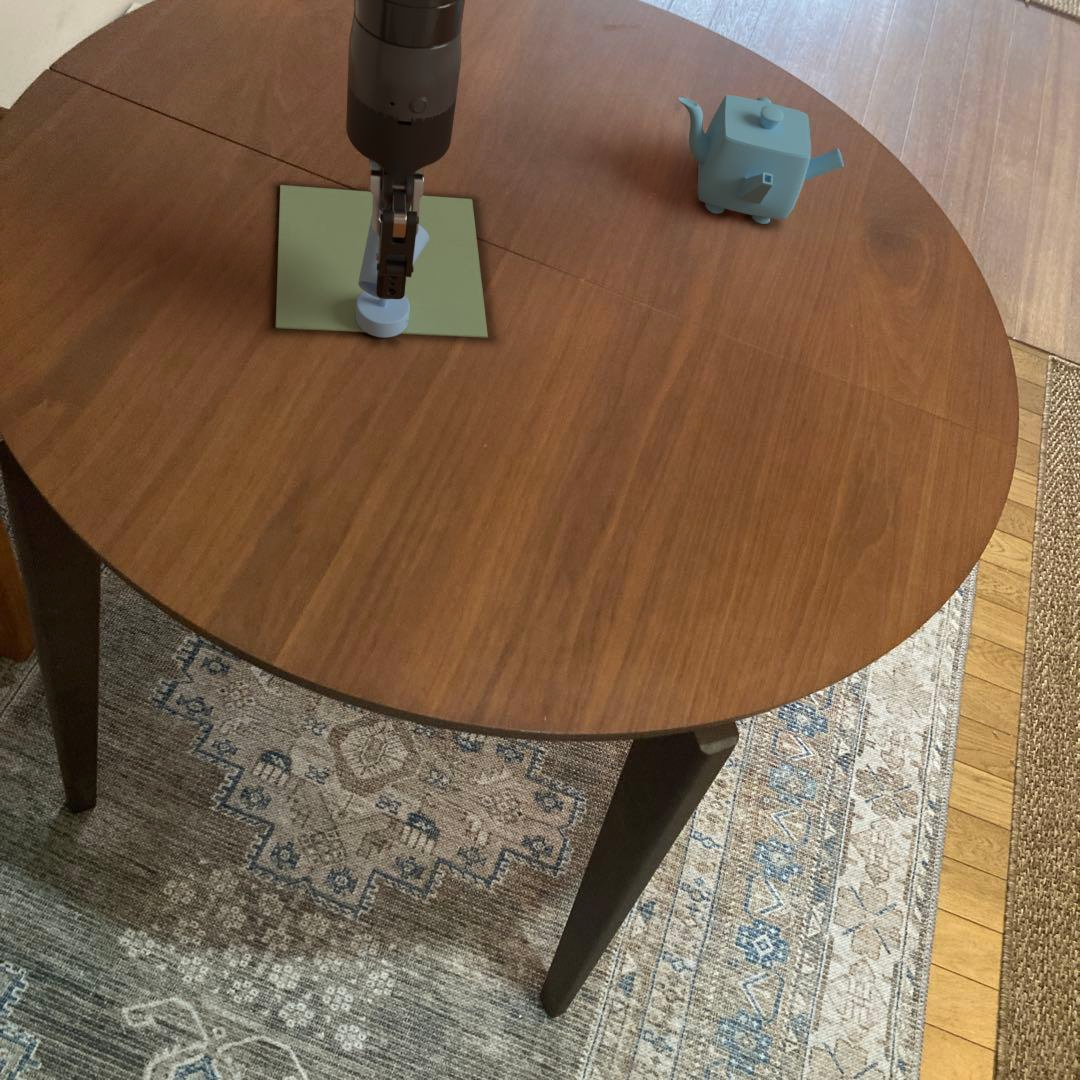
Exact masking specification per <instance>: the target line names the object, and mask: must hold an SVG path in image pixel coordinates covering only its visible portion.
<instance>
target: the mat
mask: <svg viewBox="0 0 1080 1080" xmlns="http://www.w3.org/2000/svg"><path fill="white" fill-rule="evenodd" d="M372 200H373V194H372V193H371V191H366V190H354V189H339V188H326V187H313V186H312V187H311V186H300V185H299V186H298V185H285V184H280V185H279V211H278V212H279V215H278V242H277V243H278V246H277V272H276V273H277V274H276V275H277V276H276V307H275V329H283V330H284V329H285V330H286V329H287V330H306V331H307V330H308V331H313V330H314V331H329V332H350V333H351V332H352V333H366V332H365V331H363V330H362V329H361V328H360V327H359V325H358V324H357V321H356V303H357V298H358V296H359V295H360V293H361V292H362V291H364V290H363V289H361V288H360V286H359V285H358V282H359V277H360V272H361V267H362V262H363V257H364V252H365V247H366V242H367V237H368V232H369V227H370V222H371V217H372ZM409 211H411V207H410V210H409ZM419 225H420V226H421V227H423V228H424V229H425V231H426V232H427V233H428V236H429V241H428V242H427V244H426V245H425V247H424V249H423V250H422V252H421V253H420V255H419V256H418V258H417V259H416V261H415V263H414V264H413V266H414V270H413V273H412V275H411V277H406V285H405V296H406V298H407V299H408V301H409V305H410V310H409V320H408V325H407V327H406V329H405V330H404V331H403V332H402V333H400V334H399V335H414V336H415V335H416V336H417V335H419V336H440V337H459V338H462V337H463V338H481V339H482V338H484V339H487V338H489V336H488V326H487V317H486V309H485V302H484V301H485V300H484V291H483V283H482V274H481V265H480V258H479V257H480V256H479V249H478V248H479V247H478V239H477V230H476V229H477V228H476V221H475V214H474V204H473V198H461V197H449V196H434V195H433V196H432V195H423V196H422V197H421V198H420V205H419Z"/></svg>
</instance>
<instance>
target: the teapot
mask: <svg viewBox="0 0 1080 1080" xmlns="http://www.w3.org/2000/svg"><path fill="white" fill-rule="evenodd" d="M678 101H679V102H680V104H681V105H683V107H684V108H685V109H686V110H687V112H688V114H689V122H690V124H689V133H688V146H689V150H690V153H691V155H692V157H693V158H694V160H695V161H696V162H698V169H697V197H698V200H699V201H700V202H702V203H705V208H706V209H707V211H709V212H711V213H713V214H722V213H724V212H725V210H728V211H732V212H737V213H741V214H745V215H750V216H751V218H752V219H753V220H754V221H755V222H756V223H758V224H761V225H765V224H769V223H770V221H771V219H773V220H782V221H783V220H786V219H787V218H788V216H789V215H790V214H791V213H792V212H793V210H794V208H795V206H796V203H797V201H798V199H799V196H800V194H801V191H802V188H803V185H804V182H807V181H809V180H811V179H814V178H817V177H820V176H823V175H825V174H828V173H831V172H833V171H836V170H838V169H841V168H843V167H844V165H845V164H844V160H843V156H842V154H841V151H840V149H839V148H836V149H833V150H831V151H828V152H825V153H822V154H820V155H817V156H815V157H812V158H811V156H812V143H811V142H812V140H811V129H810V119H809V115H808V114H807V113H806V112H804V111H801V110H798V109H794V108H791V107H787V106H783V105H779V104H775V103H773V102H772V100H770V99H769V98H768V97H764V96H760V97H757V98H756V99H754V98H749V97H746V96H745V97H744V96H738V95H731V94H727V95H725V96H724V97H723V98H722V101H721V102H720V104H719V106H718V107H717V108H716V111H715V113H714V114H713V116H712V118H711V121H710V123H709V124H708V126H707V129H706V132H705V130H704V128H703V125H704V123H703V122H704V114H703V113H704V112H703V110H702V107H701V106H700V104H699V103H697V102H696V101H694V100H692V99H690V98H686V97H683V96H682V97H678Z"/></svg>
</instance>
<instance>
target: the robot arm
mask: <svg viewBox="0 0 1080 1080" xmlns="http://www.w3.org/2000/svg"><path fill="white" fill-rule="evenodd" d="M465 3H466V0H354V1H353V16H352V22H351V26H350V33H349V39H348V40H349V42H348V56H347V58H348V60H347V86H346V87H347V90H346V94H347V95H346V117H345V119H346V121H345V129H346V134H347V138H348V139H349V142H350V143H351V145H352V146H353V148H354V149H355V150H356V151H357V152H358V153H359V154H360V155H362V156H363V157H365V158H366V159H367V160H368V168H369V190H370V191H369V192H371V193H372V194H373V200H372V228H373V231H374V232H375V233H376V234H377V235H378V253H376V260H377V262H378V263H377V270H378V271H377V285H376V292H377V296H378V297H379V298H383V299H402V298H403V297H404V295H405V285H406V277H411V275H412V273H413V270H414V266H413V257H414V248H415V239H416V235H417V233H418V226H419V205H420V198H421V197H422V196H424V191H425V190H424V188H425V172H421V170H422V169H424V168H425V167H428V166H431V165H433V164H435V163H436V162H438V161H440V160H441V159H442V158H443V157H444V156H446V154H447V152H448V151H449V150H450V149H449V148H450V146H451V143H452V135H453V128H454V121H455V113H456V112H455V111H456V106H457V105H456V104H457V97H458V90H459V89H458V88H459V81H460V74H461V73H460V72H461V64H462V26H463V19H464V11H465ZM410 207H411V211H409V210H410ZM380 210H381V212H382V214H380Z"/></svg>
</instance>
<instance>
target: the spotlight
mask: <svg viewBox="0 0 1080 1080" xmlns="http://www.w3.org/2000/svg"><path fill="white" fill-rule="evenodd" d="M380 214H382V212H381V210H380ZM428 241H429V236H428V233H427V232H426V231H425V229H424V228H423V227H421V226H420V225H419V226H418V233H417V235H416V239H415V248H414V257H413V264H414V263H415V261H416V259H417V258H418V256H419V255H420V253H421V252H422V250H423V249H424V247H425V245H426V244H427V242H428ZM376 253H378V235H377V234H376V233H375V232H374V231H373V228H372V217H371V222H370V227H369V232H368V237H367V242H366V247H365V252H364V257H363V262H362V267H361V272H360V277H359V282H358V285H359V286H360V288H361V289H363V290H364V291H362V292H361V293H360V295H359V296H358V298H357V303H356V321H357V324H358V325H359V327H360V328H361V329H362V330H363V331H365V332H364V333H366V334H368V335H370V336H372V337H377V338H392V337H396V336H399V335H401V334H400V333H402V332H403V331H404V330H405V329H406V327H407V325H408V320H409V310H410V305H409V301H408V299H407V298H406V296H405V295H404V297H403V298H402V299H383V298H379V297H378V296H377V292H376V285H377V271H378V270H377V263H378V262H377V260H376Z"/></svg>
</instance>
